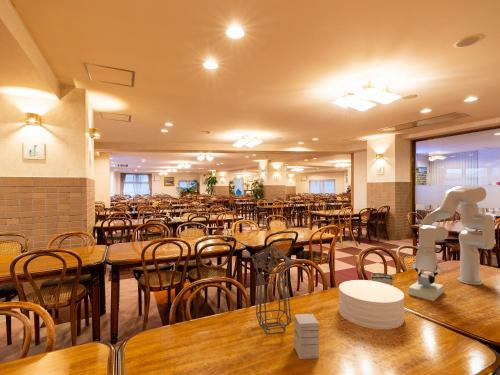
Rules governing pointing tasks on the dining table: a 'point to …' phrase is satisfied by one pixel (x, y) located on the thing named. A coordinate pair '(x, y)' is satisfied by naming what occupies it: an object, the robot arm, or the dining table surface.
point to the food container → (382, 278)
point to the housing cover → (426, 274)
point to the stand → (426, 291)
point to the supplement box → (306, 336)
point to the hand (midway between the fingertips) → (426, 281)
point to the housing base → (424, 281)
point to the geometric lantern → (272, 282)
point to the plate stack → (371, 304)
